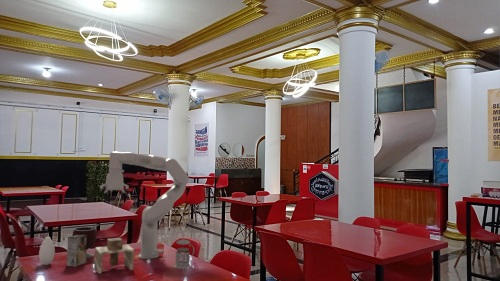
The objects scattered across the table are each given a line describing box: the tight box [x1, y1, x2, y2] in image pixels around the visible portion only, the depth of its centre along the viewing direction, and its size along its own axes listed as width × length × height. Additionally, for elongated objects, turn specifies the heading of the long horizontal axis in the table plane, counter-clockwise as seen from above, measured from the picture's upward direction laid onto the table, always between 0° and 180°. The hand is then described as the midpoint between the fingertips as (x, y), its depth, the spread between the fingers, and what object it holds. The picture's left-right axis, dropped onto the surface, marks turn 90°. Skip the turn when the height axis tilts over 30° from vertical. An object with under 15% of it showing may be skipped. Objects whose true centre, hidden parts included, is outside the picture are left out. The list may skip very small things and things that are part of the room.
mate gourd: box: [72, 223, 100, 259], centre depth 239 cm, size 16×14×20 cm
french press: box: [173, 222, 195, 269], centre depth 223 cm, size 10×12×25 cm
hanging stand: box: [93, 244, 135, 274], centre depth 213 cm, size 18×14×11 cm
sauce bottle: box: [38, 233, 56, 266], centre depth 218 cm, size 8×8×18 cm
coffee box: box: [66, 235, 87, 267], centre depth 220 cm, size 9×6×16 cm
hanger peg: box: [106, 237, 124, 267], centre depth 214 cm, size 7×7×14 cm
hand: (113, 199), depth 236 cm, fingers open, 9 cm apart
